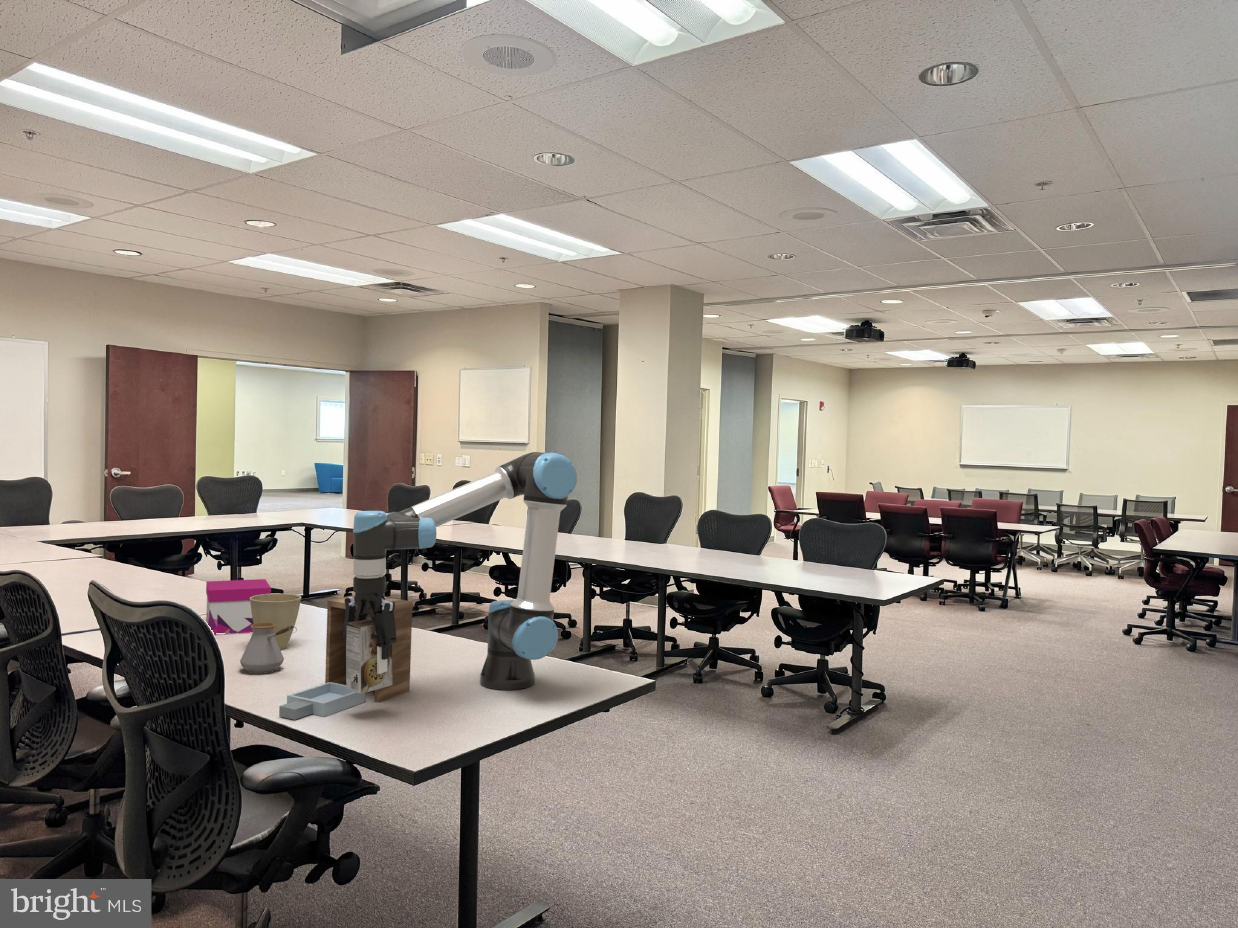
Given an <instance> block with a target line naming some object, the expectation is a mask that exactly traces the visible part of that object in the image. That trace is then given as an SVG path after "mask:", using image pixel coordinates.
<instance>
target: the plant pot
mask: <svg viewBox="0 0 1238 928" xmlns="http://www.w3.org/2000/svg"><path fill="white" fill-rule="evenodd" d="M301 601H302V596H301V595H299V594H294V593H293V594H292V593H271V594H262V595H256V596H252V597H250V604H251V612H252V618H253V623H254V624H257V623H273V624H275V627H274V628H273V634H274V633H276V632H278V631H280V630H281V629H283V628H287V627H288V626H289V627H290V626H294V627H293V628H292V629H291V630H290V632H291V633H290V632H289V631H287V632H285V633H283V634H280V635H276V636H275V639H276V641H277V643H278V646H279V648H280V650H281V649H282V650H285V649H286V648H287V646H288V645H289V642H290V639H291V636H292V635H293V633H294V629H295V625H296V622H297V618H298V615H299V612H300V606H301ZM282 650H281V651H282Z"/></svg>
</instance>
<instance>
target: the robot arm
mask: <svg viewBox="0 0 1238 928" xmlns="http://www.w3.org/2000/svg"><path fill="white" fill-rule="evenodd" d="M577 474H578V473H577V469H576V467H575V465H574V463H573V462H572V461H571V459H569V458H568V457H566V456H565V455H562V454H559V453H557V452H540V451H539V452H538V451H533V452H528V453H525V454H523V455H521V456H519V457H517V458H514V459H512V460H510V461H508V462H506V463H503V464H501V465H499V466H496V468H495V469H494V472H492V473H489V474H487V475H485V476H482V477H479V478H477V479H475V480H472V481H470V482H468V483H465V484H463V485H460V486H458V487H455V488H453V489H451V490H449V491H446V492H444V493H441V494H439V495H436V496H433V497H431V498H429V499H426V500H424V501H422V502H419V503H417V504H414V505H413V506H410V507H409V508H405V509H403V510H401V511H392V512H388V513H386V512H385V511H383V510H362V511H358V512H356V513H355V514H354V517H353V529H352V535H353V562H352V563H353V568H352V569H353V570H352V573H353V575H354V577H353V578H352V581H353V583H352V585H353V586H352V589H353V592H354V593H355V594H354V595H355V596H354V597H349V598H346V599H345V607H346V610H345V619H344V629H343V638H346V623H348V622H353V621H361V620H364V619H366V616H367V615H370V617H371V619H372V620H373V622H374V624H375V626H376V632H377V636H378V639H379V643H380V645H378V646H377V674H381V673H384V672H387V659H389V646H390V644H393V643H396V641H397V638H396V628H395V618H394V608H395V602H388V601H386V600H385V597H386V596H385V592H386V590H387V577H386V575H385V574H386V572H387V570H386V569H387V568H386V567H387V564H386V563H387V561H386V560H387V559H386V558H387V551H394V550H413V549H415V550H416V549H419V550H422V549H428V548H432V547H434V545H435V544H436V542H437V541H436V540H437V527H440V526H443V525H445V524H447V523H448V522H451V521H454V520H456V519H458V518H461V517H463V516H465V515H467V514H470V513H473V512H475V511H477V510H480V509H481V508H484V507H487V506H489V505H491V504H493V503H496V502H498V501H500V500H502V499H505V498H506V499H508V500H512V499H514V498H517V497H520V496H523V503H524V504H525V505H526V506H527V515H526V523H525V524H526V525H525V530H524V531H525V532H524V539H523V547H522V548H523V549H522V556H521V565H520V573H519V579H518V580H519V581H518V588H517V590H518V591H517V596H516V598H515V599H505V600H504V599H503V600H494V601H492V602H490V604H489V605H488V606H489V607H488V612H487V619H488V620H487V621H488V622H487V623H488V624H487V655H486V658H485V661H484V663H483V666H482V668H481V669H482V670H481V672H480V677H479V683H480V685H481V686H483V687H484V688H485V687H486V688H487V689H492V690H501V691H502V690H503V691H504V690H505V691H511V690H521V689H522V690H523V689H527V688H530V687H531V686H533V685H535V682H536V676H535V675H536V674H535V671H534V668H533V664H532V661H536V660H537V661H538V660H540V659H543V658H545V657H546V656H548V655H549V654H550V653H551V652H552V651H553V650H554V648H555V647H556V645H557V643H558V640H559V631H558V627H557V626H556V623H555V622H554V614H555V606H553V603H552V602H551V593H552V583H553V575H554V574H553V573H554V567H555V558H556V552H557V551H556V550H557V543H558V542H557V541H558V534H559V533H558V532H559V525H560V517H561V512H562V511H563V510H564V509H565V508H566V507H567V506H568V501H569V495H570V494H572V493H573V492H574V490H575V488H576V486H577V482H578V475H577ZM356 605H357V609H356ZM382 607H383V608H382ZM378 613H379V614H378ZM376 614H378V615H376ZM384 639H385V641H384Z"/></svg>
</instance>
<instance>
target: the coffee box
mask: <svg viewBox="0 0 1238 928" xmlns="http://www.w3.org/2000/svg"><path fill="white" fill-rule="evenodd" d="M384 641H385V639H384ZM378 645H380V643H379V639H378V636H377V632H376V626H375V624H374V622H373V620H372V619H371V618H368V619H364V620H361V621H353V622H348V623H346V688H347V689H349V690H351V691H354V692H357V693H360V694H362V693H365V694H366V693H368V692H369V693H370V692H372V691H375V690H376V689H380V688H384V687H387V686H391V685H392V644H390V646H389V659H387V672H384V673H381V674H377V646H378Z"/></svg>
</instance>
